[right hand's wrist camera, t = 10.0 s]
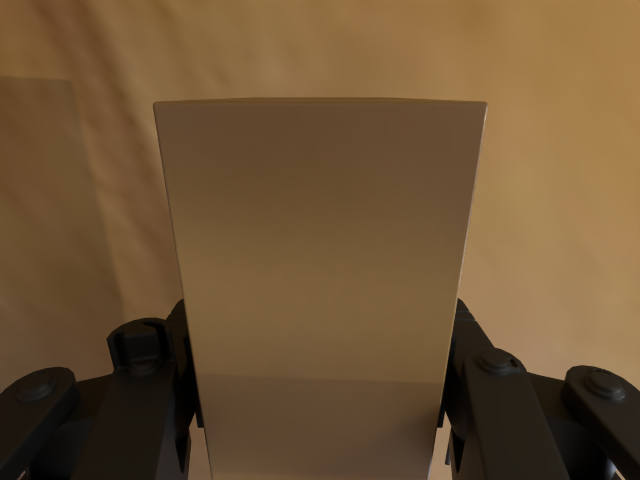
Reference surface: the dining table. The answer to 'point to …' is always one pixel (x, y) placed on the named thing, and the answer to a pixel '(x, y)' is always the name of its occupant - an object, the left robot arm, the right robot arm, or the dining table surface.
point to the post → (320, 275)
